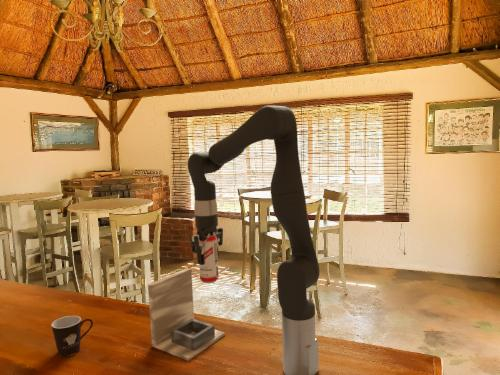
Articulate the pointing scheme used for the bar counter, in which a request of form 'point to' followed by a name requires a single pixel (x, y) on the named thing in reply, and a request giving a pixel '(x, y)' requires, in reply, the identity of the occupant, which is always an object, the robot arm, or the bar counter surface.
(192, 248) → the robot arm
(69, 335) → the coffee mug
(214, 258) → the beer can
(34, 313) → the bar counter surface
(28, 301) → the bar counter surface
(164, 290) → the can rack
